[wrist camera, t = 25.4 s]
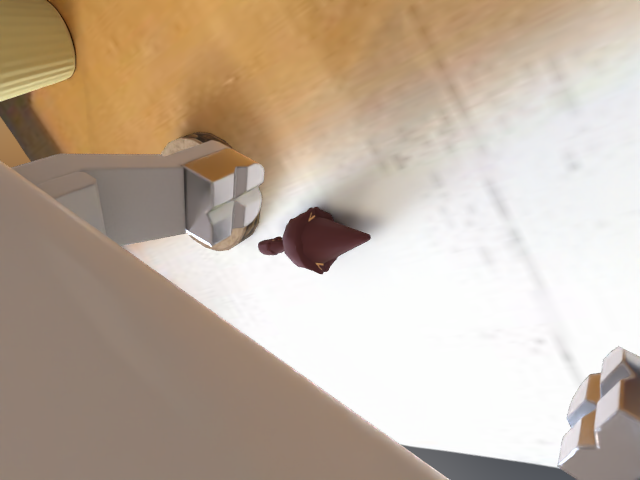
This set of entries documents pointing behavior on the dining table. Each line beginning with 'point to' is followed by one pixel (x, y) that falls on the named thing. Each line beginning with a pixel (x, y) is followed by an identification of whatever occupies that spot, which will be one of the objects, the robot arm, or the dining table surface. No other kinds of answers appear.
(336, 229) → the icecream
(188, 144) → the wood slice
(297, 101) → the dining table surface
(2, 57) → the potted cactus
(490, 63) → the dining table surface
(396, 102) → the dining table surface
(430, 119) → the dining table surface
